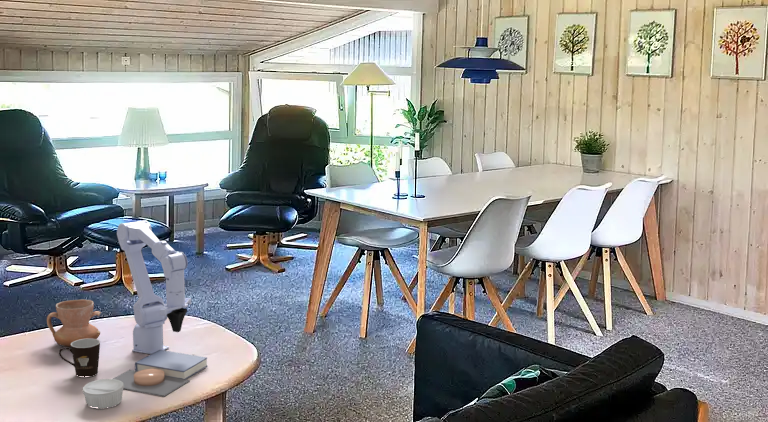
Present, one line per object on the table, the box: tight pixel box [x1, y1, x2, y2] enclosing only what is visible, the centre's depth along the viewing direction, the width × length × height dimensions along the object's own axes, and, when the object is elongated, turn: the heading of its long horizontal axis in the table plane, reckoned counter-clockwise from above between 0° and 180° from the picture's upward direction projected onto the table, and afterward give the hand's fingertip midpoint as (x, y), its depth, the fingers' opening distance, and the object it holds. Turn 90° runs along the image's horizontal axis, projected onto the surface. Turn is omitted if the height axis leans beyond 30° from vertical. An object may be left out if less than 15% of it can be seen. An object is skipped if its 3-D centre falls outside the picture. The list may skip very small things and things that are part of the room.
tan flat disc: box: [134, 369, 165, 386], centre depth 263 cm, size 9×9×2 cm
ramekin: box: [82, 378, 124, 408], centre depth 247 cm, size 11×11×5 cm
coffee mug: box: [58, 338, 101, 377], centre depth 269 cm, size 12×9×10 cm
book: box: [134, 350, 208, 380], centre depth 274 cm, size 18×13×3 cm
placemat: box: [112, 369, 190, 397], centre depth 262 cm, size 22×13×1 cm, turn 69°
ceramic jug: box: [46, 299, 102, 348], centre depth 295 cm, size 18×14×14 cm
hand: (176, 331), depth 278 cm, fingers closed
